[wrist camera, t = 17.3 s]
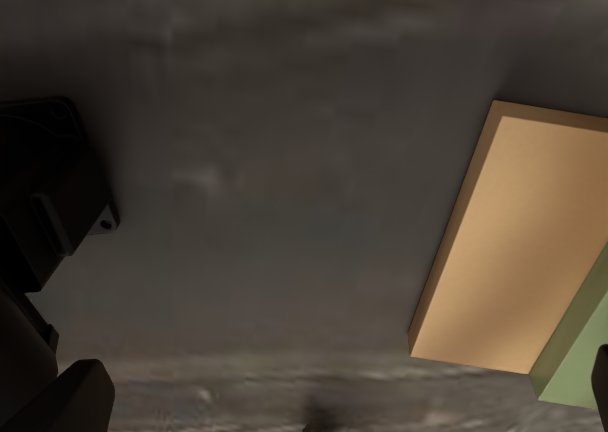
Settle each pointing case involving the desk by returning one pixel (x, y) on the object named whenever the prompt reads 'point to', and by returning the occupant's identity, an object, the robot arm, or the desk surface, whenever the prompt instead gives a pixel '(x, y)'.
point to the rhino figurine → (314, 427)
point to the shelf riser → (525, 255)
